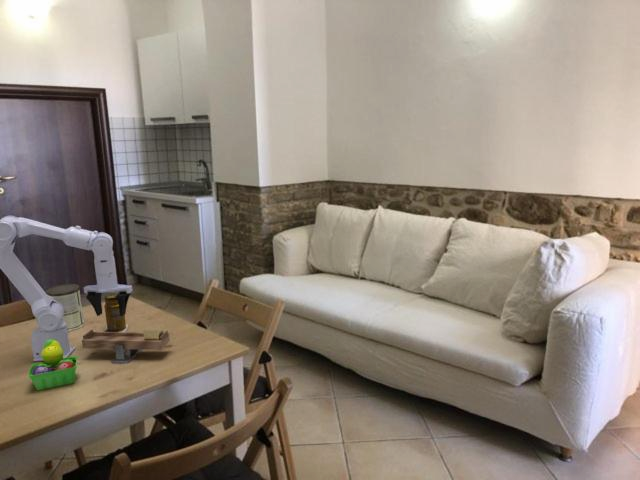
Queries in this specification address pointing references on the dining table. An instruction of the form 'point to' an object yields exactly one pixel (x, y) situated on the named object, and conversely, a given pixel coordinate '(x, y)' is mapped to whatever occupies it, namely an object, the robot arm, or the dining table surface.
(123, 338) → the balance beam
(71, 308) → the coffee can
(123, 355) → the pivot stand
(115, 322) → the condiment
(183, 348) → the dining table surface
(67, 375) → the fruit basket
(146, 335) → the wooden cube block
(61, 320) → the robot arm
